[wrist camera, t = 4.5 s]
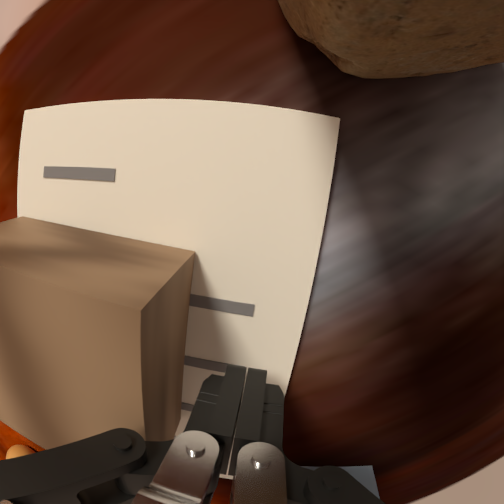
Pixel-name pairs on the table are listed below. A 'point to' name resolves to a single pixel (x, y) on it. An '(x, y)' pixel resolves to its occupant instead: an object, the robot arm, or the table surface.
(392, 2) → the block
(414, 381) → the table surface
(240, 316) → the letter
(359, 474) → the slate cube
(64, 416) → the walnut block
